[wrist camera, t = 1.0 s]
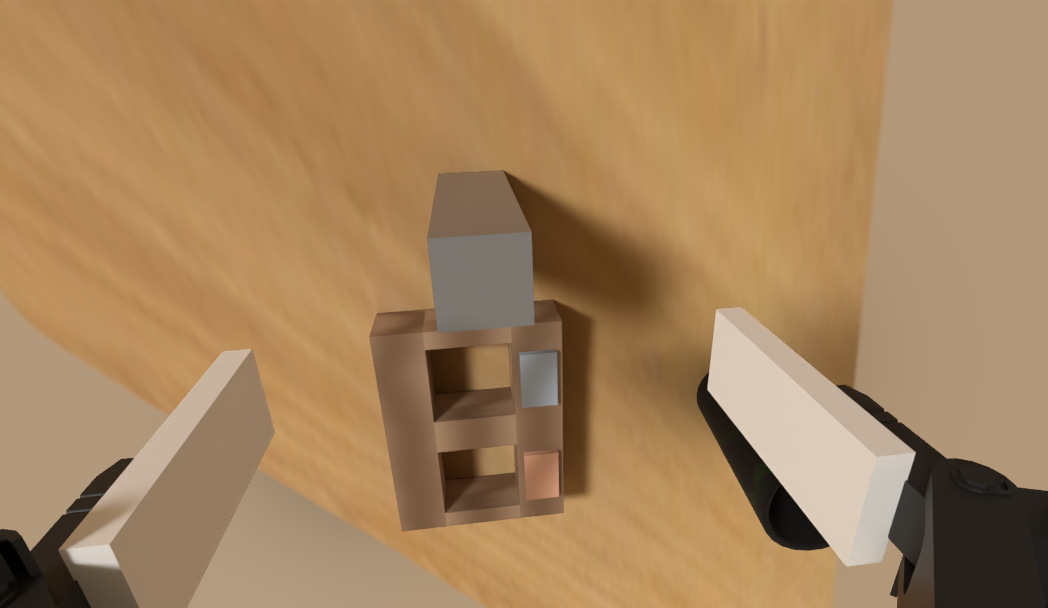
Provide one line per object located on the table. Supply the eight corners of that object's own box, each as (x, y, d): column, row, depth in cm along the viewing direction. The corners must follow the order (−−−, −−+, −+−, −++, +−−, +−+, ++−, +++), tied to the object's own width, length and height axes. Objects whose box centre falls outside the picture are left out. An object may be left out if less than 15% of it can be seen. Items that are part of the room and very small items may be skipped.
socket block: (552, 299, 38) (563, 323, 34) (555, 480, 44) (564, 516, 40) (376, 313, 36) (368, 339, 33) (406, 496, 43) (401, 535, 39)
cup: (750, 439, 45) (845, 559, 34) (668, 421, 43) (740, 542, 32) (795, 359, 42) (914, 462, 31) (709, 337, 40) (804, 437, 29)
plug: (503, 170, 34) (531, 231, 21) (506, 232, 35) (534, 324, 22) (438, 174, 33) (427, 238, 21) (444, 236, 35) (437, 333, 22)
